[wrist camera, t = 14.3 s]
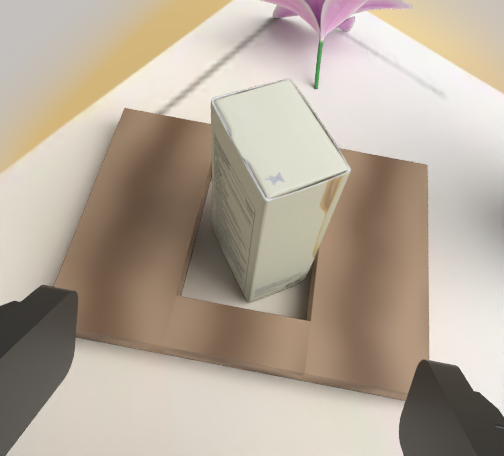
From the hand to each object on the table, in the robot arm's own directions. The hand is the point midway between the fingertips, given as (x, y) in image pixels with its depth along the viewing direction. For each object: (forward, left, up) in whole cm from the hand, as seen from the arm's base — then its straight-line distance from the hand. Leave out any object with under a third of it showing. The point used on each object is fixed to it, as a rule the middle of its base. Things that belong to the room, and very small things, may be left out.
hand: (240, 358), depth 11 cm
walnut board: (0, -11, -17) cm, 21 cm away
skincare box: (0, -11, -18) cm, 21 cm away
